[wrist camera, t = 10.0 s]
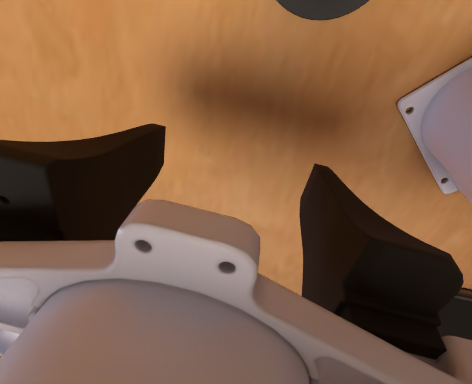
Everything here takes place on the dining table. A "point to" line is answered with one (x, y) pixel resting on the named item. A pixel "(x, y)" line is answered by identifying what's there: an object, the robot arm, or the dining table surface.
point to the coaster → (321, 8)
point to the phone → (457, 316)
